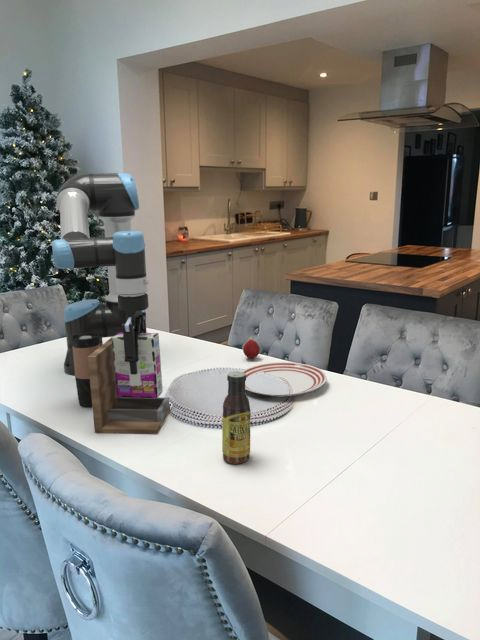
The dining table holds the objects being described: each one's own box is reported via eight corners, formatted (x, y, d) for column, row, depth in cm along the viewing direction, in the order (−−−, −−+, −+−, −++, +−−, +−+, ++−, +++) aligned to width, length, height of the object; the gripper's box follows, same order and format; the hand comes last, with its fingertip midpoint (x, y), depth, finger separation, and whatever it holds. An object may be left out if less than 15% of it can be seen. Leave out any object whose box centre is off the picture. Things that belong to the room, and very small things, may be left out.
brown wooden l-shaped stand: (117, 404, 149) (112, 336, 145) (173, 405, 148) (169, 337, 143) (94, 432, 132) (87, 356, 127) (157, 434, 130) (152, 357, 126)
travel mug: (98, 409, 147) (91, 340, 142) (73, 407, 148) (65, 339, 143) (110, 398, 154) (104, 332, 149) (86, 397, 155) (79, 331, 151)
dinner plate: (282, 411, 143) (282, 400, 142) (218, 386, 163) (218, 375, 162) (345, 386, 160) (345, 375, 159) (280, 365, 180) (280, 356, 179)
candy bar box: (163, 391, 140) (159, 332, 136) (157, 399, 135) (153, 337, 131) (123, 390, 142) (118, 331, 138) (116, 397, 137) (110, 336, 133)
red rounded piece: (262, 358, 187) (262, 337, 185) (254, 363, 183) (254, 341, 181) (248, 356, 190) (248, 335, 188) (240, 360, 186) (239, 338, 184)
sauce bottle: (230, 468, 114) (227, 381, 109) (217, 455, 119) (214, 372, 114) (256, 460, 116) (255, 375, 112) (243, 449, 122) (241, 367, 117)
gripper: (137, 301, 123) (143, 394, 128) (156, 287, 140) (161, 369, 146) (105, 301, 123) (113, 394, 129) (128, 287, 141) (134, 369, 147)
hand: (138, 380), depth 137 cm, fingers closed on candy bar box, 5 cm apart
